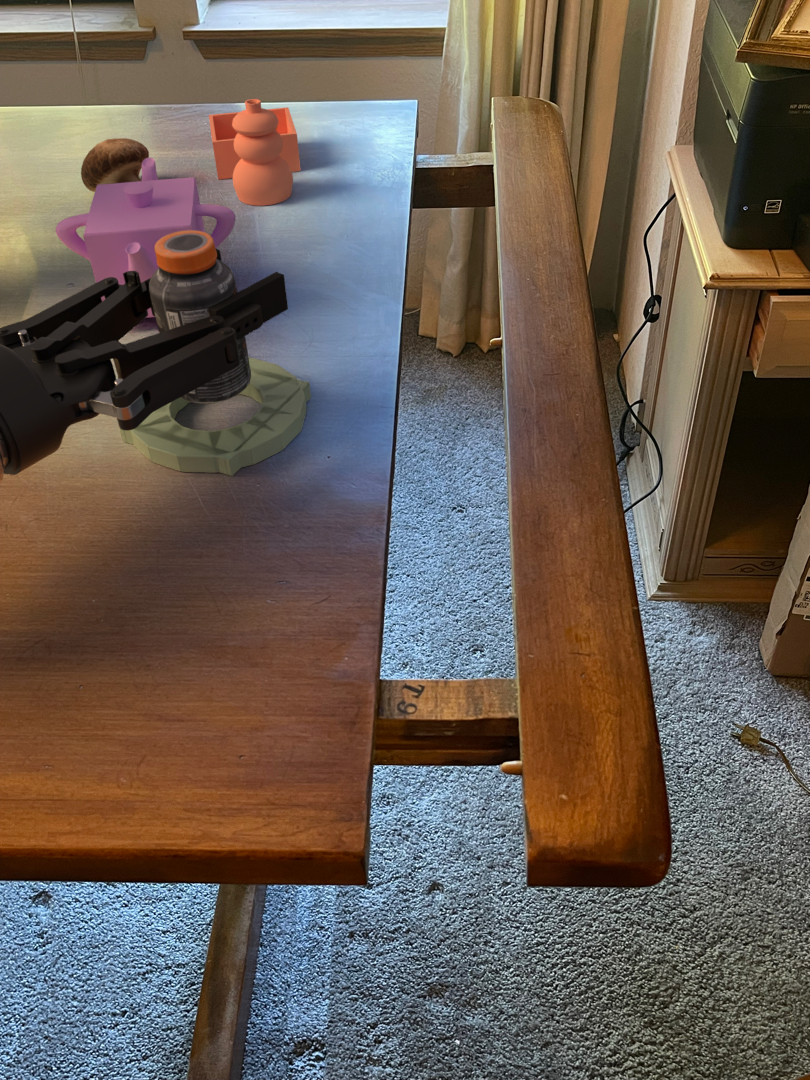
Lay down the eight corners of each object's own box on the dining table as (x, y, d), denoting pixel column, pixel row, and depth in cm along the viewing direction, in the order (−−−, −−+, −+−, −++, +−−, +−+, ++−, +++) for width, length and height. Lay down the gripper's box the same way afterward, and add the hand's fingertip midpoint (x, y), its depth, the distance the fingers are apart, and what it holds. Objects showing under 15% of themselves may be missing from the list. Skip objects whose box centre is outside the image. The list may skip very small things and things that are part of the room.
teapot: (54, 304, 88) (18, 188, 80) (169, 252, 95) (146, 142, 88) (156, 360, 80) (127, 238, 73) (273, 300, 87) (257, 183, 80)
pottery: (214, 150, 115) (200, 63, 108) (292, 143, 116) (282, 56, 110) (222, 211, 102) (207, 116, 95) (310, 202, 103) (300, 107, 97)
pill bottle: (184, 361, 74) (153, 221, 66) (259, 363, 73) (237, 222, 66) (163, 405, 69) (127, 260, 62) (242, 407, 69) (216, 261, 61)
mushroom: (163, 170, 102) (127, 117, 100) (102, 212, 102) (65, 159, 100) (167, 180, 110) (133, 131, 108) (110, 219, 110) (75, 170, 108)
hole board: (95, 444, 72) (90, 428, 70) (200, 358, 80) (197, 342, 79) (242, 492, 67) (239, 475, 66) (336, 395, 75) (335, 379, 74)
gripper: (-88, 422, 64) (175, 288, 77) (84, 535, 55) (350, 362, 68) (-134, 322, 59) (155, 197, 72) (48, 429, 50) (342, 264, 63)
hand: (249, 278), depth 70 cm, fingers closed on pill bottle, 6 cm apart
